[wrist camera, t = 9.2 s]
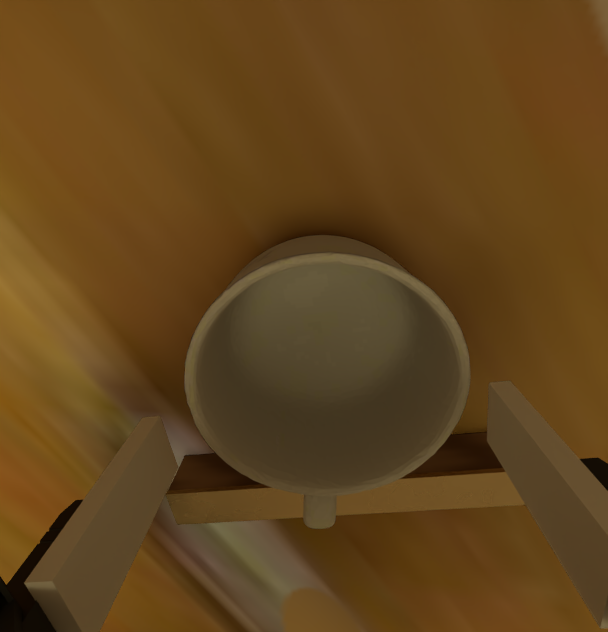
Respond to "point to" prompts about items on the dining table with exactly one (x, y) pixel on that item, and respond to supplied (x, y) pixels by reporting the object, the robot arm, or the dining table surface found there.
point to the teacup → (326, 371)
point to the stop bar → (399, 496)
